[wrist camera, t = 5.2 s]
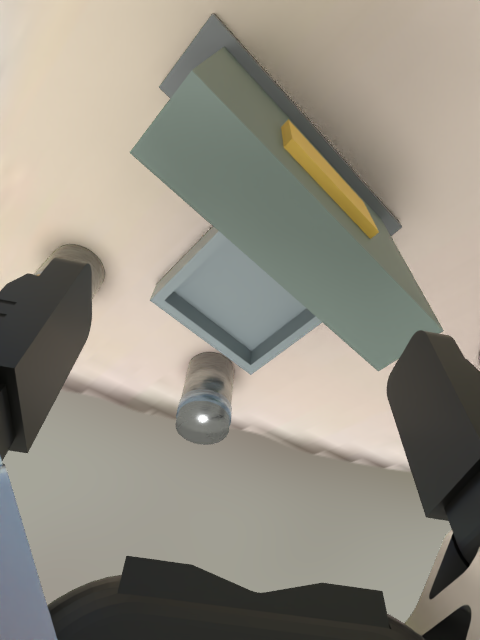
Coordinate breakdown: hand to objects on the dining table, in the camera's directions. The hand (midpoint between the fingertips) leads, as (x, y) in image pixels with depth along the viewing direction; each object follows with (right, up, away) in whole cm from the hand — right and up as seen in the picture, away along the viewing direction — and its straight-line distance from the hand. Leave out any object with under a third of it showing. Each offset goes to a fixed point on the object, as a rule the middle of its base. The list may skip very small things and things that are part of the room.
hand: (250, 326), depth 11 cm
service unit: (+3, +11, +18) cm, 22 cm away
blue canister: (-3, -5, +30) cm, 31 cm away
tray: (+1, +3, +24) cm, 24 cm away
